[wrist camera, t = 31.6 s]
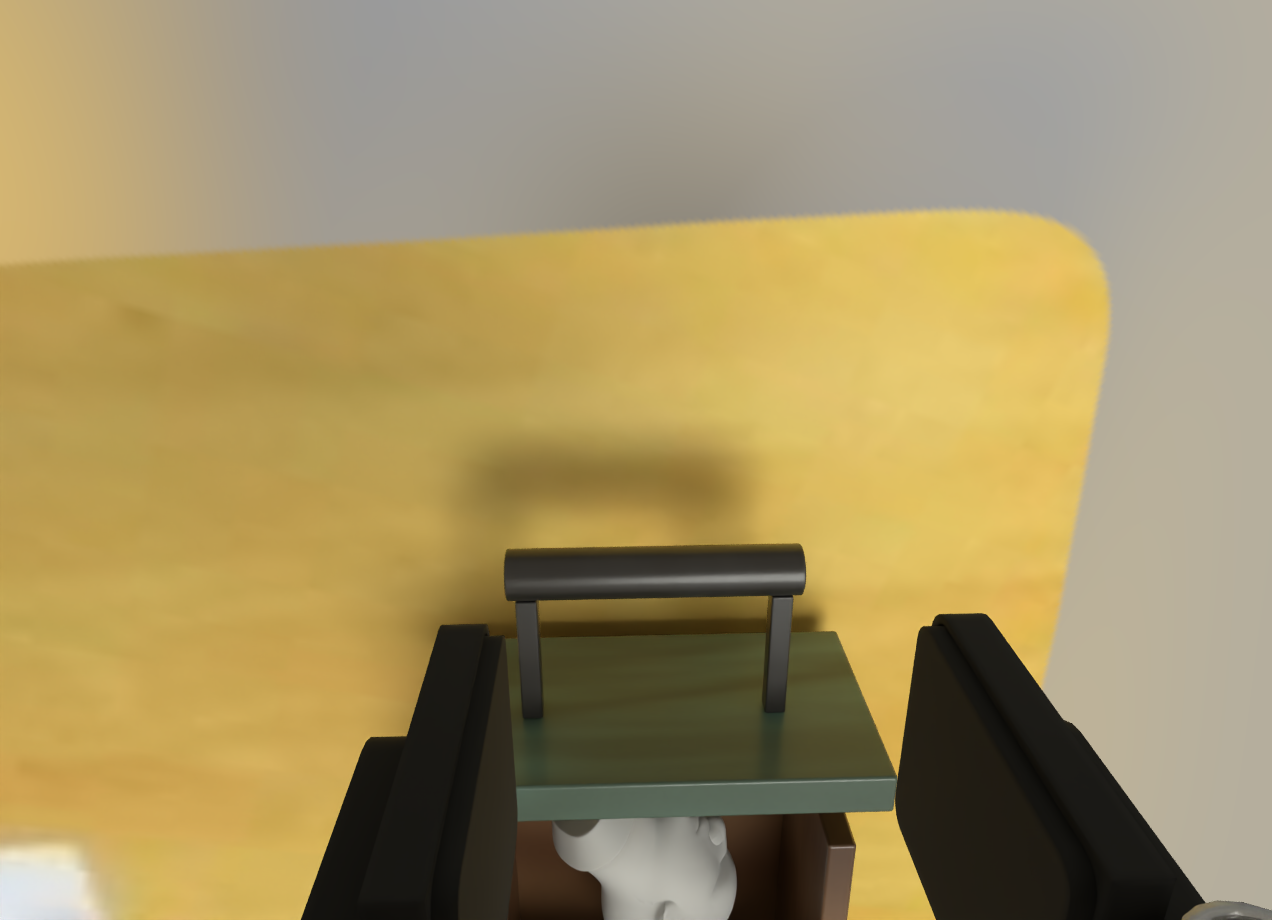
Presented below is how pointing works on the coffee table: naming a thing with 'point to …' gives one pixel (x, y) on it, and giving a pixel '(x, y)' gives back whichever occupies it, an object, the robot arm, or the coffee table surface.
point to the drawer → (689, 729)
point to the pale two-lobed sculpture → (653, 865)
